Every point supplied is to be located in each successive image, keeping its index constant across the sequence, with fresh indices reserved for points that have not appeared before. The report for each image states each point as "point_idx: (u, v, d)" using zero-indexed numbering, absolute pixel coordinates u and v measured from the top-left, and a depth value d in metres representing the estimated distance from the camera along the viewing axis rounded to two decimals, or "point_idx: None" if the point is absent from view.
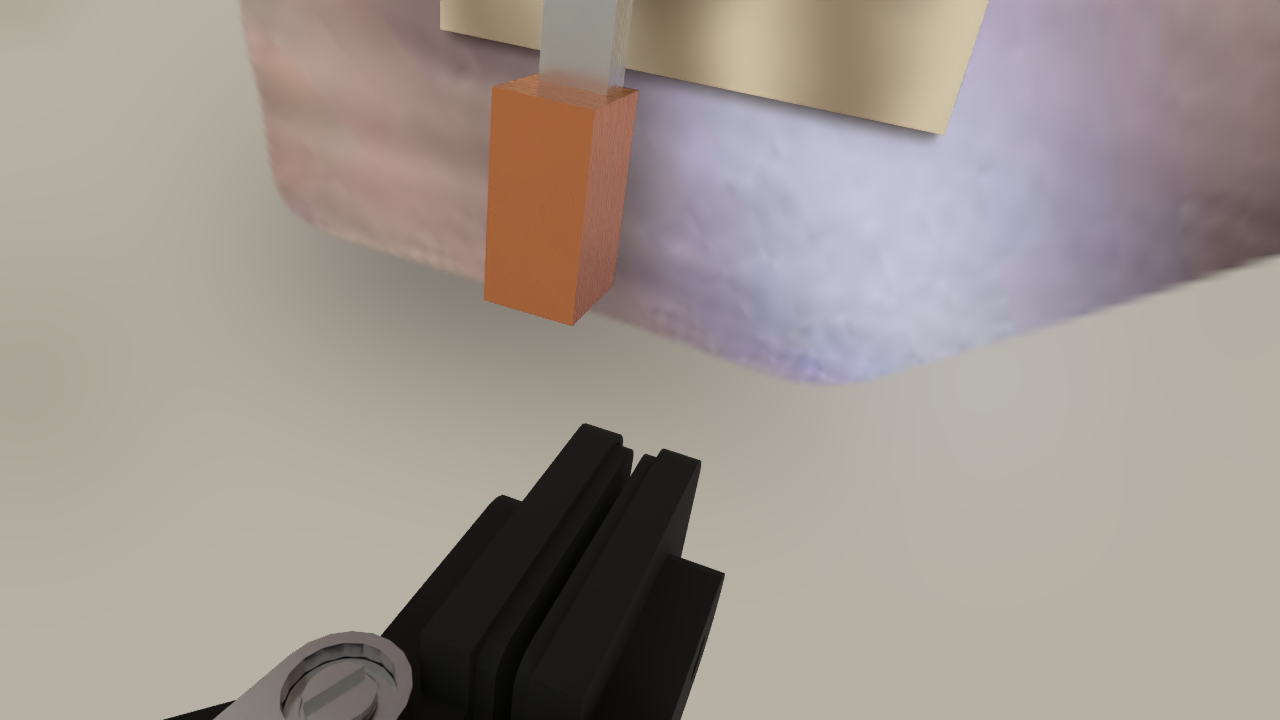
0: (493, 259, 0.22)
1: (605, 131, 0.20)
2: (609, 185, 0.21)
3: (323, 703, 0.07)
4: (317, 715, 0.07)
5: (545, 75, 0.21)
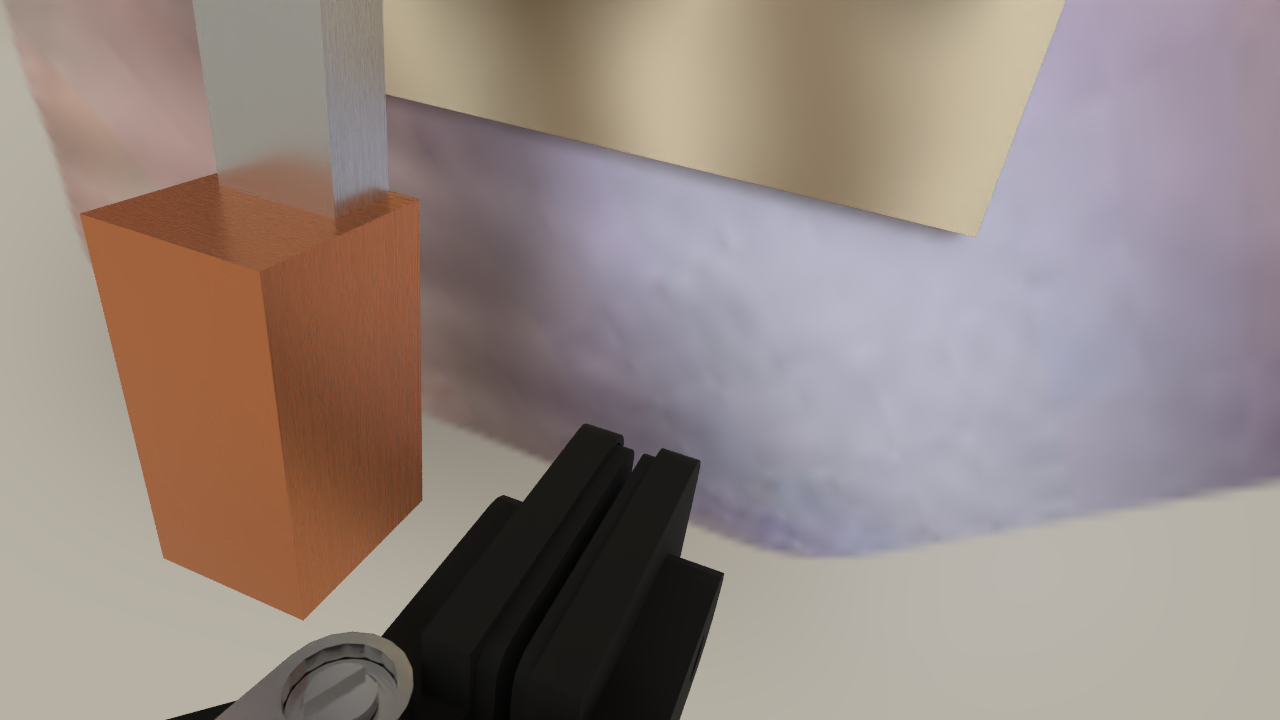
0: (161, 501, 0.12)
1: (318, 296, 0.10)
2: (363, 373, 0.12)
3: (324, 703, 0.07)
4: (318, 715, 0.07)
5: (228, 178, 0.11)
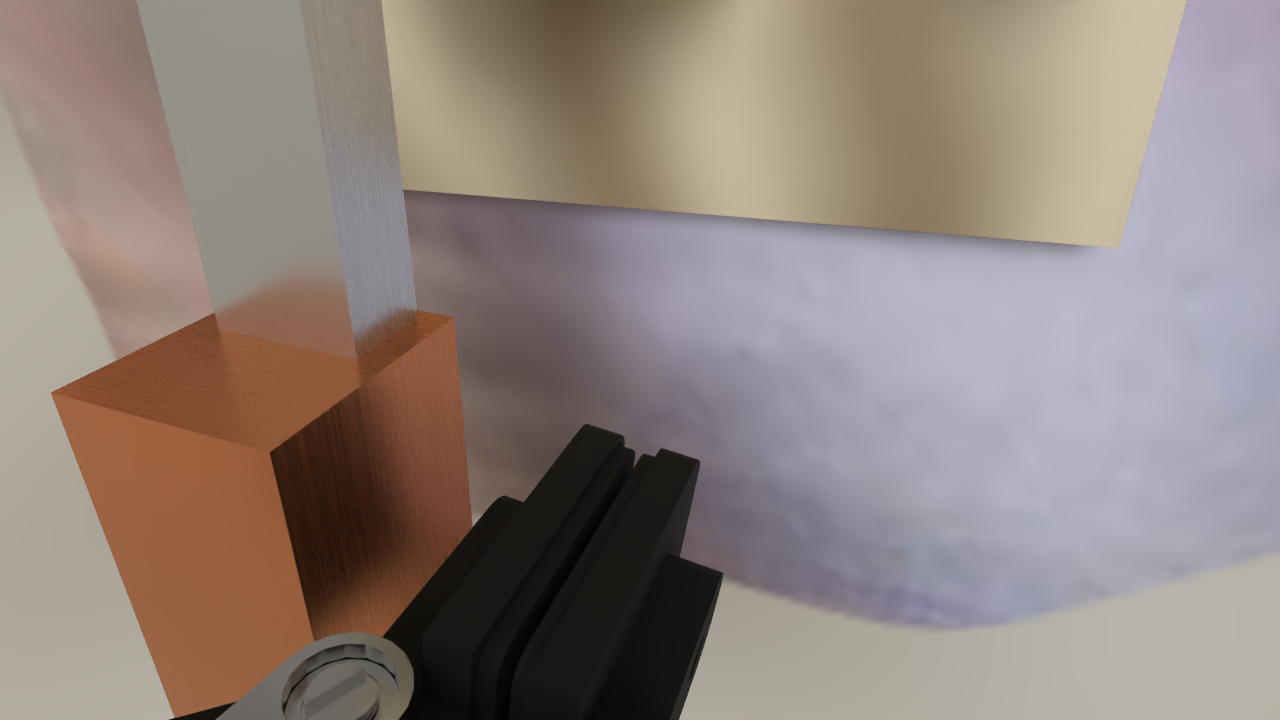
0: (182, 702, 0.10)
1: (344, 460, 0.08)
2: (405, 531, 0.10)
3: (324, 704, 0.07)
4: (318, 715, 0.07)
5: (228, 320, 0.09)
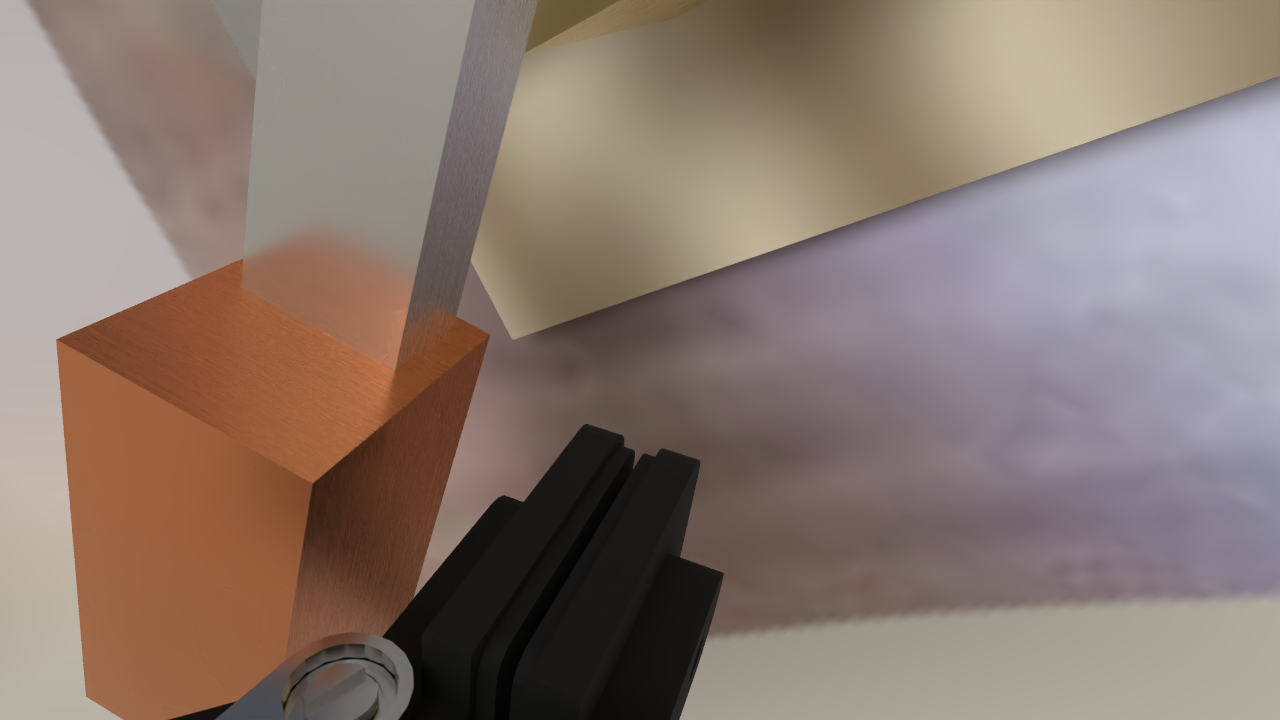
0: (98, 647, 0.10)
1: (365, 480, 0.08)
2: (387, 534, 0.10)
3: (324, 704, 0.07)
4: (318, 715, 0.07)
5: (256, 285, 0.08)
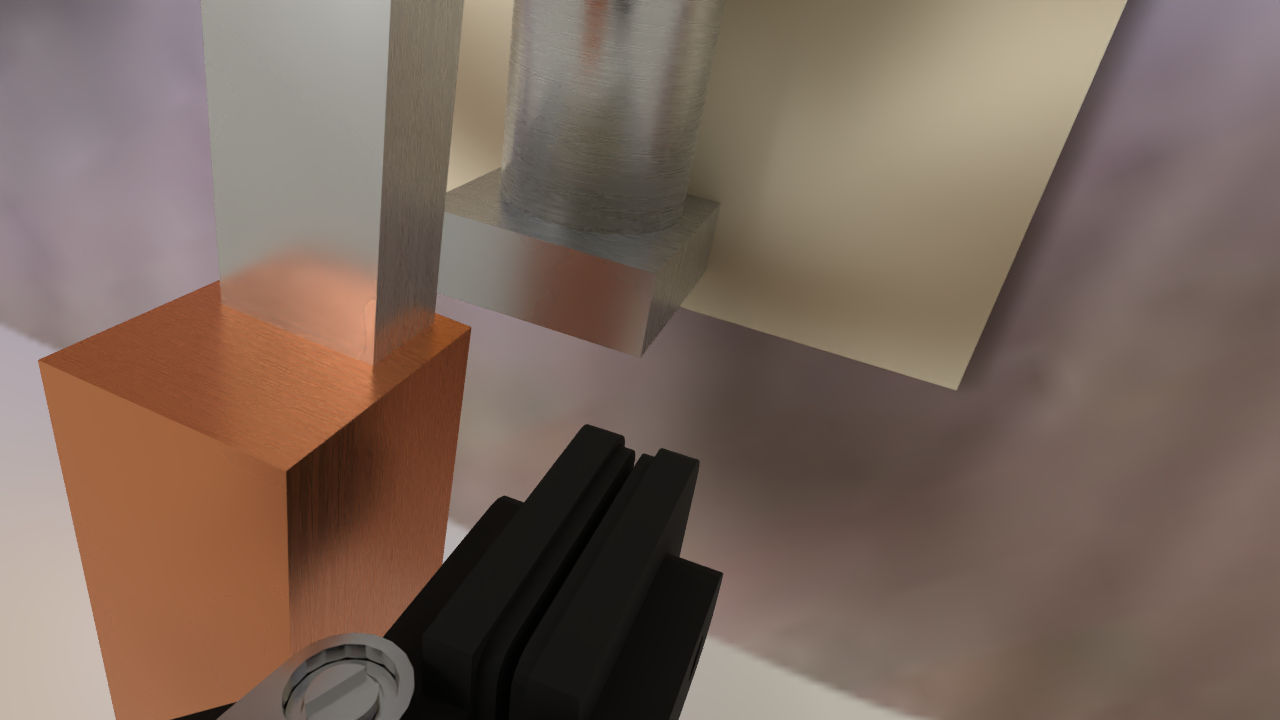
0: (121, 677, 0.10)
1: (350, 474, 0.08)
2: (390, 538, 0.09)
3: (325, 704, 0.07)
4: (319, 717, 0.07)
5: (235, 297, 0.09)
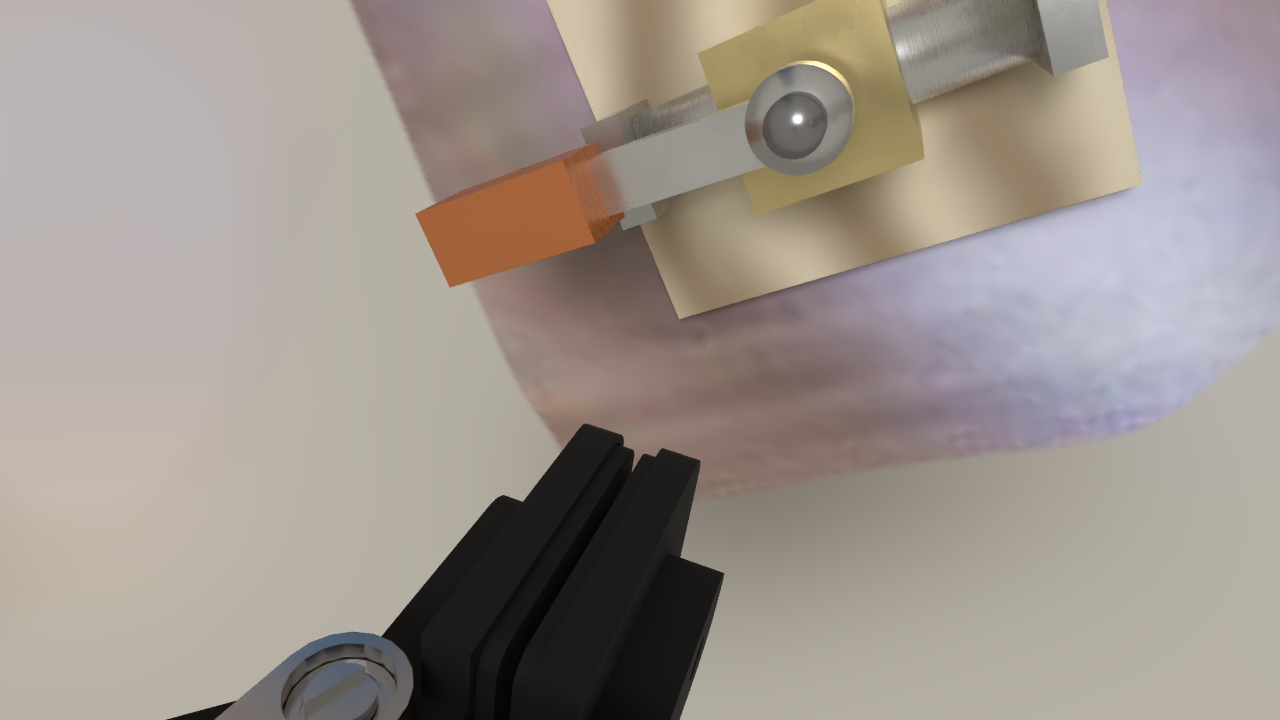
0: (449, 209, 0.26)
1: None
2: None
3: (324, 703, 0.07)
4: (317, 715, 0.07)
5: (593, 165, 0.26)
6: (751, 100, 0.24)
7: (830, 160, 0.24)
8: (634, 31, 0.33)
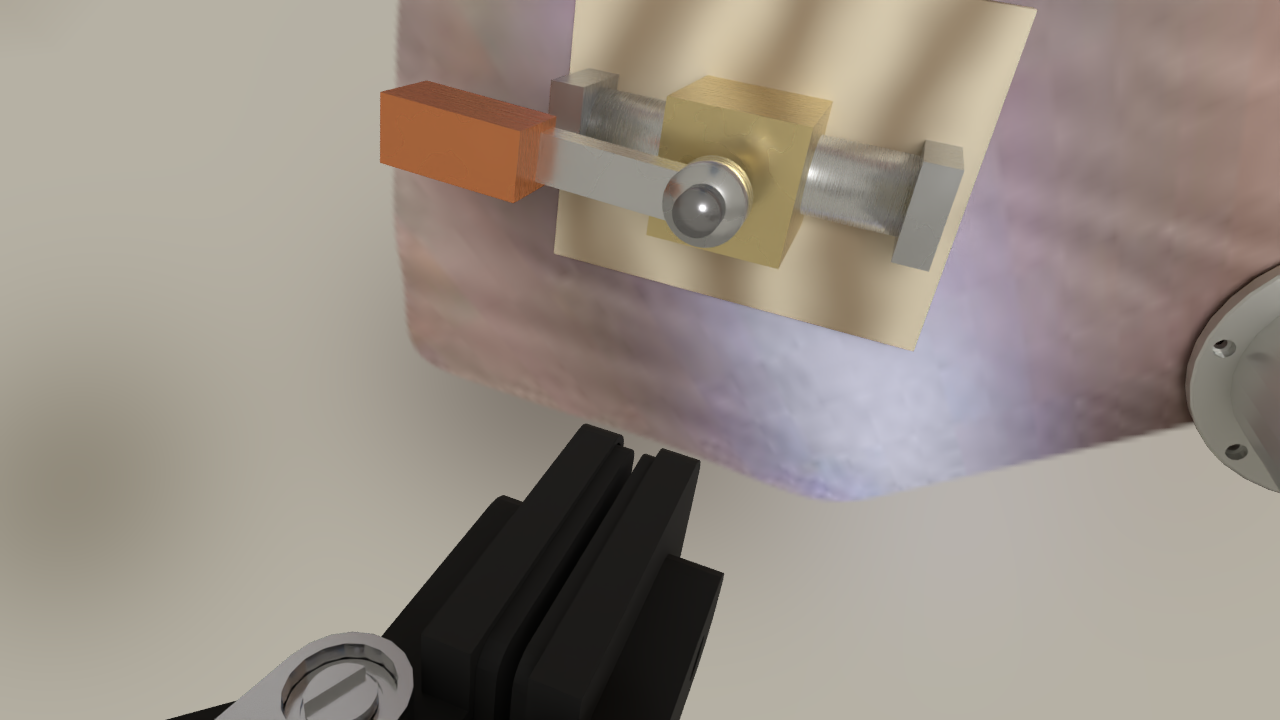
0: (410, 107, 0.30)
1: None
2: None
3: (324, 704, 0.07)
4: (318, 716, 0.07)
5: (543, 139, 0.30)
6: (680, 172, 0.29)
7: (710, 245, 0.30)
8: (637, 17, 0.37)
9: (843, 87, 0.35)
